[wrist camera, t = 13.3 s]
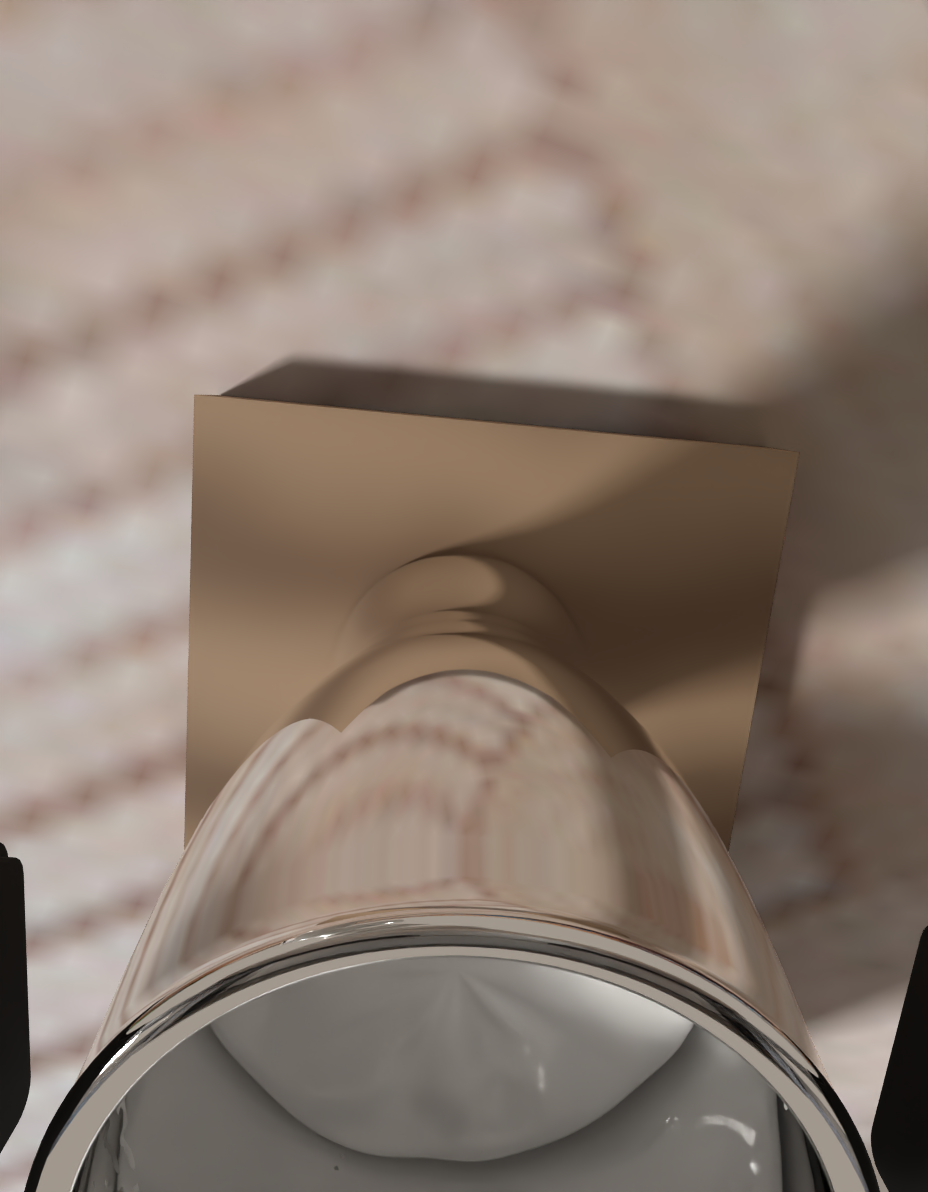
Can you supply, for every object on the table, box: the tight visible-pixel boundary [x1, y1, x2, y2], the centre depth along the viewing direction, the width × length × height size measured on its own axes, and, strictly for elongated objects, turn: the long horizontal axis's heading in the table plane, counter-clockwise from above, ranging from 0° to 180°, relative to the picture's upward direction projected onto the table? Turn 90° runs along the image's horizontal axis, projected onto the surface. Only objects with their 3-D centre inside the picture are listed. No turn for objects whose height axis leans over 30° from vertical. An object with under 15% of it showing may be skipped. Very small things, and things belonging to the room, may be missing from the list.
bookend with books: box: [184, 395, 800, 851], centre depth 16 cm, size 20×14×16 cm
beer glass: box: [24, 554, 880, 1192], centre depth 14 cm, size 7×7×15 cm
